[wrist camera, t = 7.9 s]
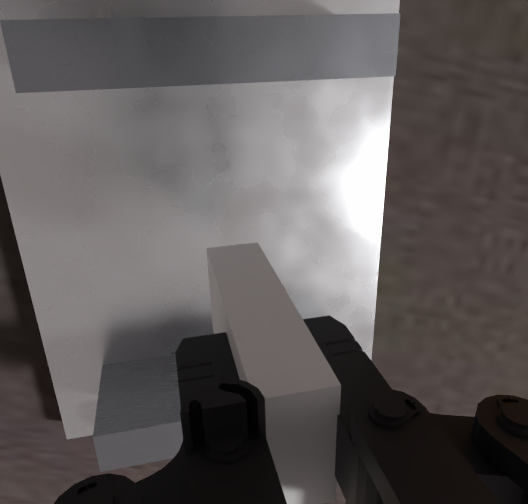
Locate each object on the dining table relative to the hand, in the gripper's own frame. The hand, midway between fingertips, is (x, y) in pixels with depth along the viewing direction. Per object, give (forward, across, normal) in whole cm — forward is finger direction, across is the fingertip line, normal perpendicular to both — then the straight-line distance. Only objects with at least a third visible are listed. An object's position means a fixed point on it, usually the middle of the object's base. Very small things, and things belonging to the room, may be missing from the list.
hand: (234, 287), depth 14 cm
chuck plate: (+6, 0, 0) cm, 6 cm away
